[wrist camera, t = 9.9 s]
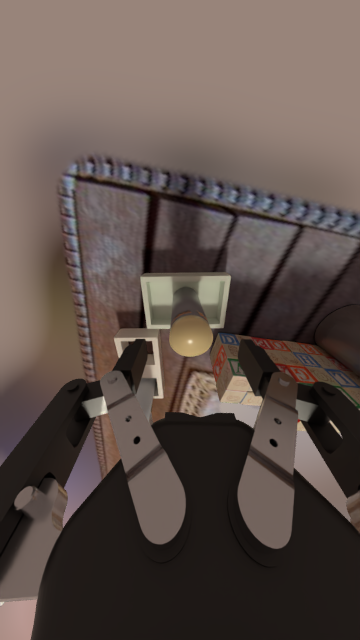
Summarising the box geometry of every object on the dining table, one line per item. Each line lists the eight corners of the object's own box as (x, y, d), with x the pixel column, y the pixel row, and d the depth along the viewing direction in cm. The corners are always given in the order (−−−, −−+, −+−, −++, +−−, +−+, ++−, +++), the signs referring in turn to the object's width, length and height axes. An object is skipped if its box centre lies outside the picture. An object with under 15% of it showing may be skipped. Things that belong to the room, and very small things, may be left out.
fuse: (155, 368, 31) (144, 426, 21) (157, 381, 33) (148, 440, 23) (136, 368, 31) (116, 426, 21) (139, 382, 33) (122, 440, 23)
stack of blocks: (208, 356, 30) (224, 425, 19) (217, 331, 27) (242, 397, 16) (306, 368, 31) (370, 438, 21) (326, 346, 28) (413, 415, 18)
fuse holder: (159, 328, 26) (157, 337, 24) (164, 385, 33) (163, 398, 31) (120, 328, 27) (113, 337, 24) (133, 386, 33) (129, 398, 31)
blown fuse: (198, 286, 22) (215, 319, 13) (197, 310, 24) (211, 356, 15) (172, 286, 22) (168, 320, 13) (173, 311, 24) (170, 356, 15)
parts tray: (225, 272, 22) (231, 275, 20) (219, 319, 26) (223, 328, 23) (144, 273, 22) (140, 276, 20) (150, 320, 26) (147, 328, 23)
